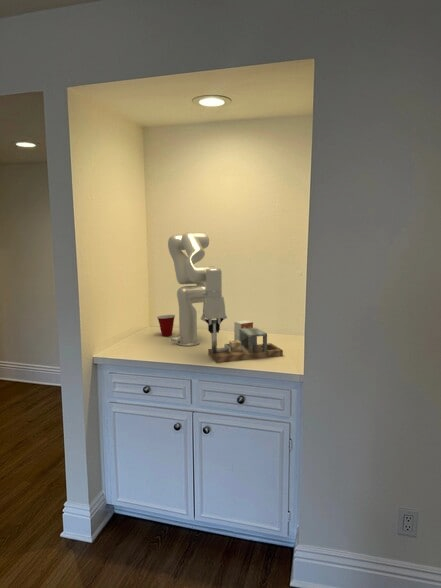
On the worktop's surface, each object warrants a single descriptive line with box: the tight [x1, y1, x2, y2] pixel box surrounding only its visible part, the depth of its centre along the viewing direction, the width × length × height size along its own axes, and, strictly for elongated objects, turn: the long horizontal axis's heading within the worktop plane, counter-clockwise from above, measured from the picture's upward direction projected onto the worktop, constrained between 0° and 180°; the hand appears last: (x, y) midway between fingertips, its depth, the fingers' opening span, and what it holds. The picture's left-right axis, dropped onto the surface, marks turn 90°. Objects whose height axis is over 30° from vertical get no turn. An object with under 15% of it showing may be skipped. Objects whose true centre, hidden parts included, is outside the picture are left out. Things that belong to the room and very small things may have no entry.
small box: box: [233, 319, 254, 341], centre depth 229 cm, size 8×6×13 cm
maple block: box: [228, 340, 241, 352], centre depth 209 cm, size 4×4×4 cm
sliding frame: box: [210, 319, 244, 353], centre depth 207 cm, size 15×7×16 cm, turn 108°
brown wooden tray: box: [207, 327, 284, 364], centre depth 210 cm, size 34×14×12 cm, turn 108°
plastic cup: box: [156, 314, 176, 337], centre depth 253 cm, size 11×11×12 cm
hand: (214, 331), depth 205 cm, fingers closed on sliding frame, 2 cm apart
